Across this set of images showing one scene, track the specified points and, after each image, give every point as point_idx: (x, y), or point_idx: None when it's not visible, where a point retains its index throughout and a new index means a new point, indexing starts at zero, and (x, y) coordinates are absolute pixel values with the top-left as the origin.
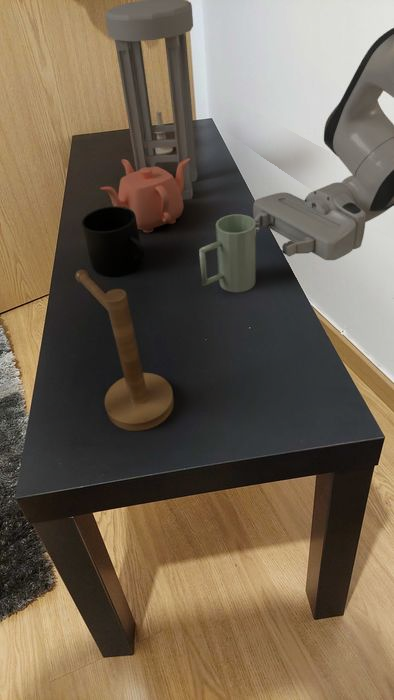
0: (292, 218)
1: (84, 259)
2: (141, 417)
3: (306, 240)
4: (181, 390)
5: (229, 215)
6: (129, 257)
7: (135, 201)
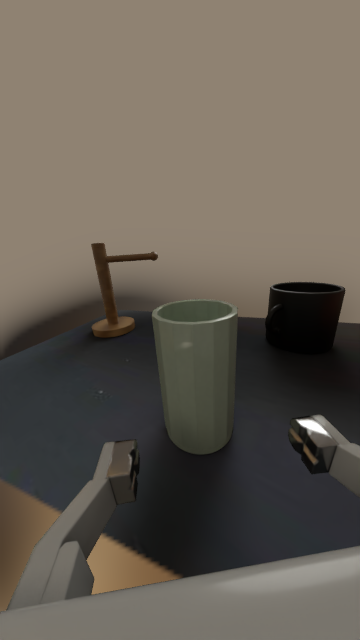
0: (298, 636)
1: None
2: (100, 322)
3: (58, 542)
4: (101, 340)
5: (235, 308)
6: (273, 326)
7: None
